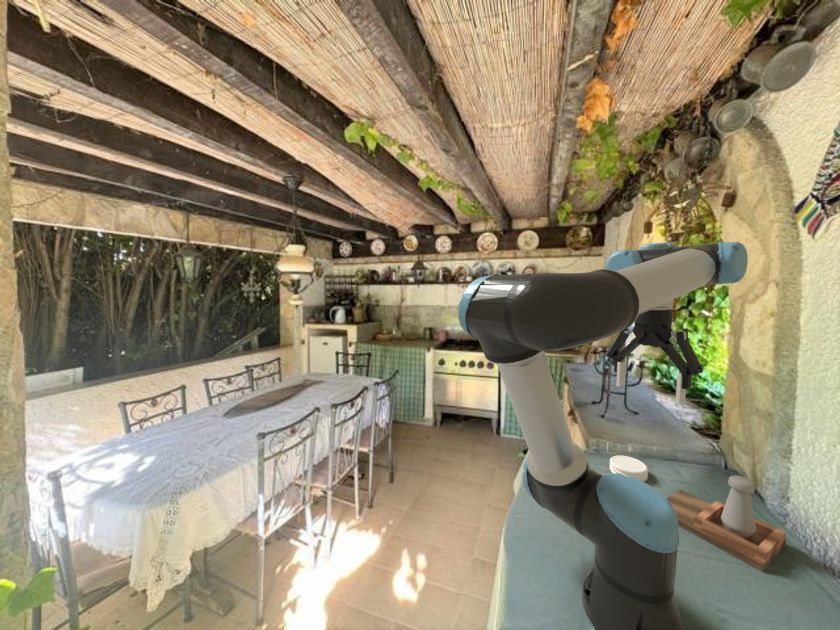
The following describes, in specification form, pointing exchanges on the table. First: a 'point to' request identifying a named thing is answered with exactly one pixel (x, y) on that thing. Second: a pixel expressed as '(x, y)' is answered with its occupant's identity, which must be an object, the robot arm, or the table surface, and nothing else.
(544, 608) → the table surface
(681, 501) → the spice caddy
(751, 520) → the salt shaker
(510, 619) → the table surface
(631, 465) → the white round container
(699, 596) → the table surface
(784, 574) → the table surface
